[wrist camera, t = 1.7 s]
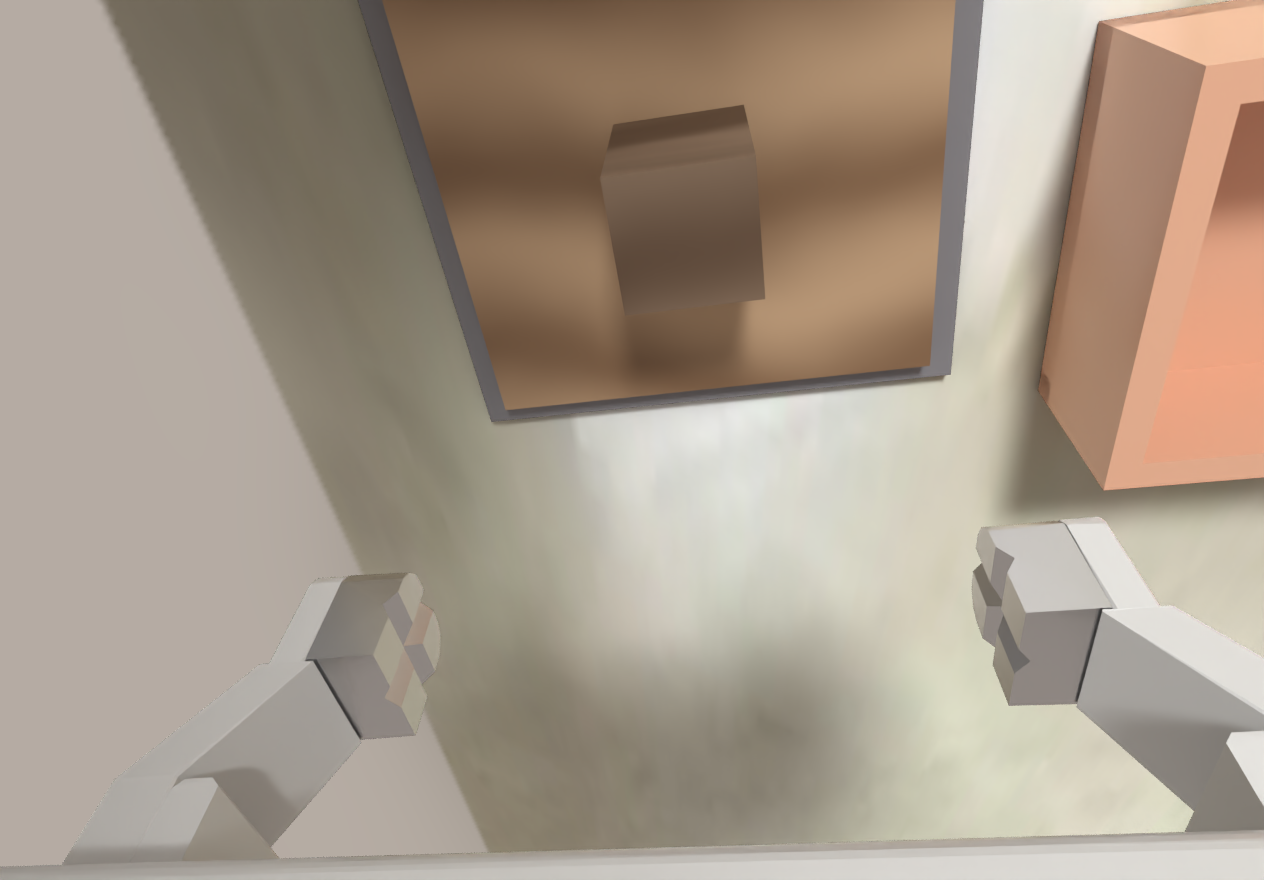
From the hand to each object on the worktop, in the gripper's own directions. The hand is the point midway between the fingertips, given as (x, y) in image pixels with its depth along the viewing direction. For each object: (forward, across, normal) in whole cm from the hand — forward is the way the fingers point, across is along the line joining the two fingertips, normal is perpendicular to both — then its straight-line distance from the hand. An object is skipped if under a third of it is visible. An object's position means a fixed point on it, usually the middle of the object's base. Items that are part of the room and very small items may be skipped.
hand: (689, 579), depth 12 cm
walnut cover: (+18, 0, 0) cm, 18 cm away
